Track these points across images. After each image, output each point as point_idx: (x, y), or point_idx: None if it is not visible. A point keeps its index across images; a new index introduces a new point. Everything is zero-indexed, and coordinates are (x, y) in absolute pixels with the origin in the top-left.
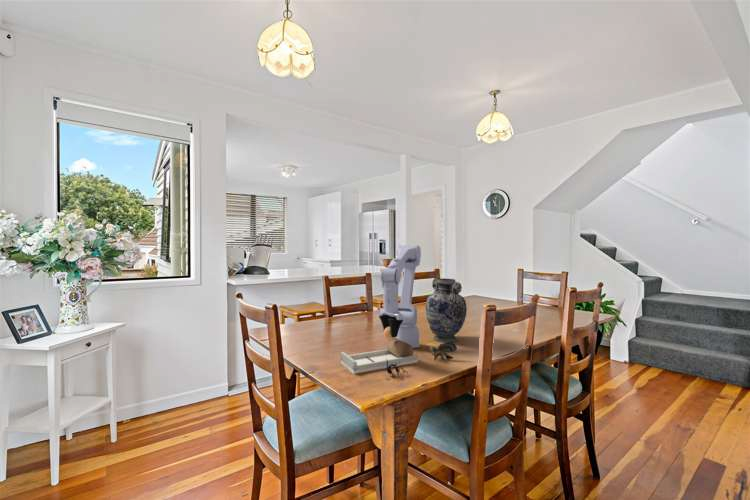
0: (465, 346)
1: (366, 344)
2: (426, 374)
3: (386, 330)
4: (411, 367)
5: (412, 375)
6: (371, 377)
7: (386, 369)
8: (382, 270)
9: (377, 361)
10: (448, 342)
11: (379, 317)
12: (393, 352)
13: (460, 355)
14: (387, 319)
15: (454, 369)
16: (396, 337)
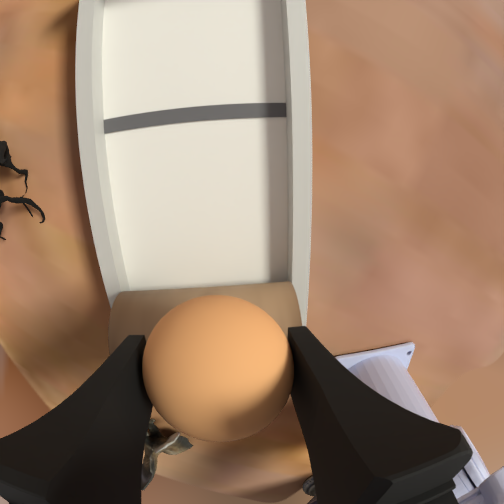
0: (251, 492)
1: (486, 238)
2: (10, 305)
3: (187, 349)
4: (80, 294)
5: (2, 251)
6: (24, 62)
7: (1, 141)
8: None
9: (92, 119)
10: (144, 487)
11: (446, 432)
12: (209, 287)
13: (177, 466)
14: (330, 484)
15: (54, 399)
16: (402, 382)
